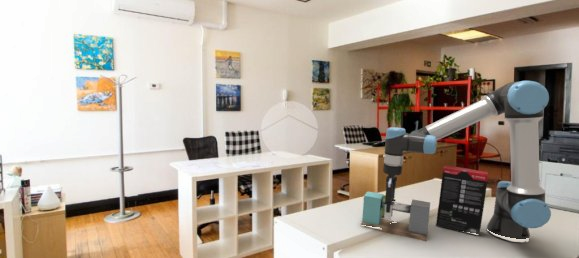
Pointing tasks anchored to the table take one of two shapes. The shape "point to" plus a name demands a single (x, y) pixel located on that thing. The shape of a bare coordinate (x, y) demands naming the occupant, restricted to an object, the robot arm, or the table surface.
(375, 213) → the teal socket block
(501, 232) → the robot arm
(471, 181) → the graphics card box
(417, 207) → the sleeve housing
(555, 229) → the table surface
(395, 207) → the steel tube
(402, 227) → the walnut board
